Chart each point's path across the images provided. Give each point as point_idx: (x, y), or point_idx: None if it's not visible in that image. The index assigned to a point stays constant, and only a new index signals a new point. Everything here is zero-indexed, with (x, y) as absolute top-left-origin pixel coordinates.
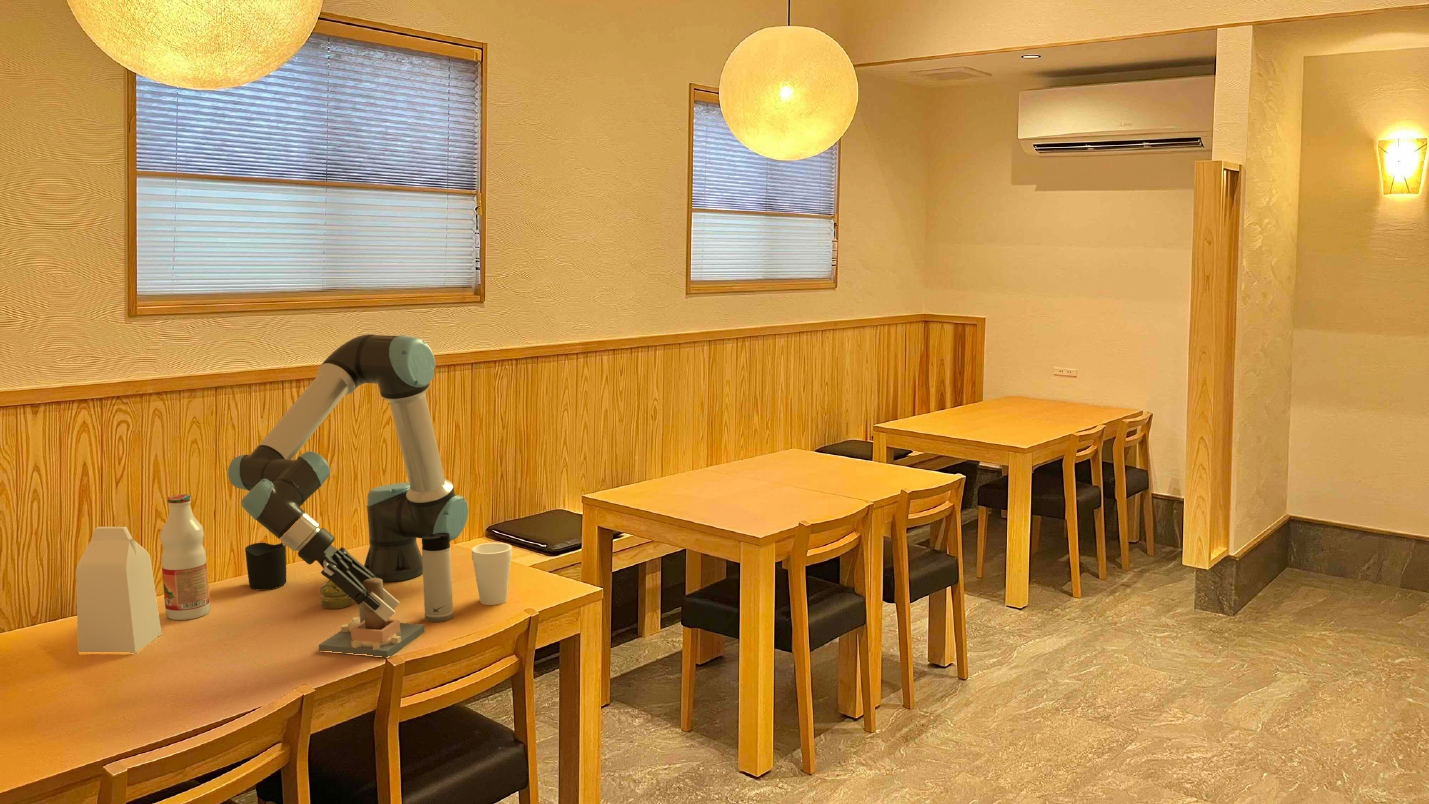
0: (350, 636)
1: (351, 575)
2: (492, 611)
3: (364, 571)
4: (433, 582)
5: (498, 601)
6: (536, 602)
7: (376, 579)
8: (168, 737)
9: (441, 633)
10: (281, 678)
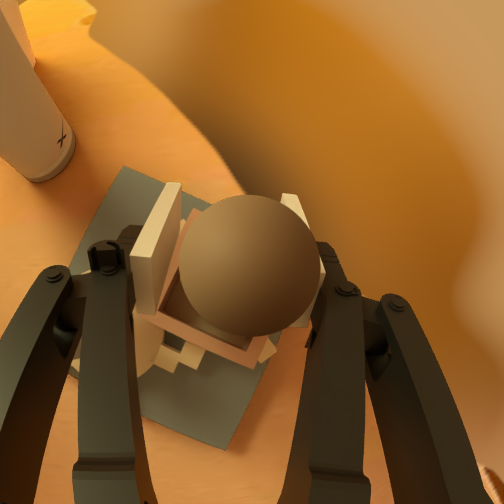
0: (169, 373)
1: (353, 420)
2: (64, 63)
3: (47, 336)
4: (26, 95)
5: (34, 58)
6: (62, 18)
7: (216, 237)
8: (499, 500)
9: (152, 135)
10: (374, 473)
